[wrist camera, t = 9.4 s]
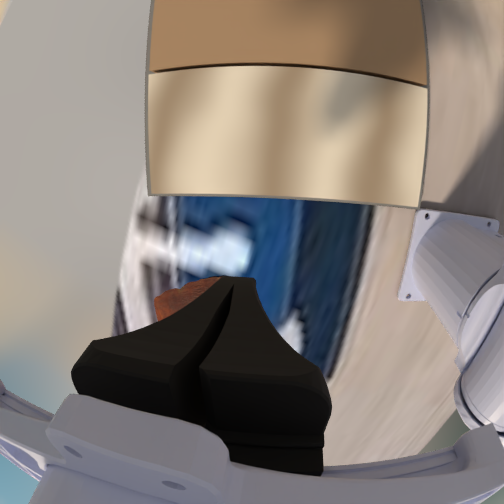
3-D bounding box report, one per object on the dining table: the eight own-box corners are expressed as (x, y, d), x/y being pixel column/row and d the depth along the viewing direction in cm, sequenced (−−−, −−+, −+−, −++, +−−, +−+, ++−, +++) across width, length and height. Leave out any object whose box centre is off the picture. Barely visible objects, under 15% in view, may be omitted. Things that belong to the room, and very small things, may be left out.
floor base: (414, -16, 12) (425, -26, 10) (414, 206, 20) (428, 215, 18) (159, -27, 14) (148, -39, 12) (152, 193, 21) (139, 201, 19)
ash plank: (418, 90, 15) (427, 88, 14) (409, 201, 19) (417, 207, 17) (157, 77, 17) (148, 74, 15) (159, 188, 20) (151, 193, 19)
